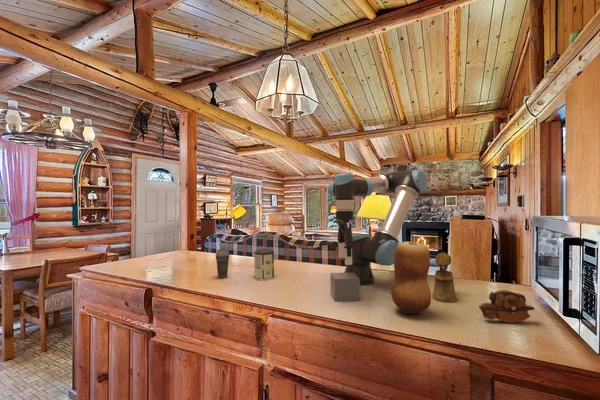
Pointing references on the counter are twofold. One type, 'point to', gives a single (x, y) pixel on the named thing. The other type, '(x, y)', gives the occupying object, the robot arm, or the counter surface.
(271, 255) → the coffee can
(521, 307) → the wooden carving
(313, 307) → the counter surface
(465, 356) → the counter surface
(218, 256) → the beverage cup
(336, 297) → the grey cubic block
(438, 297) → the brown pawn shape
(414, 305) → the butternut squash
